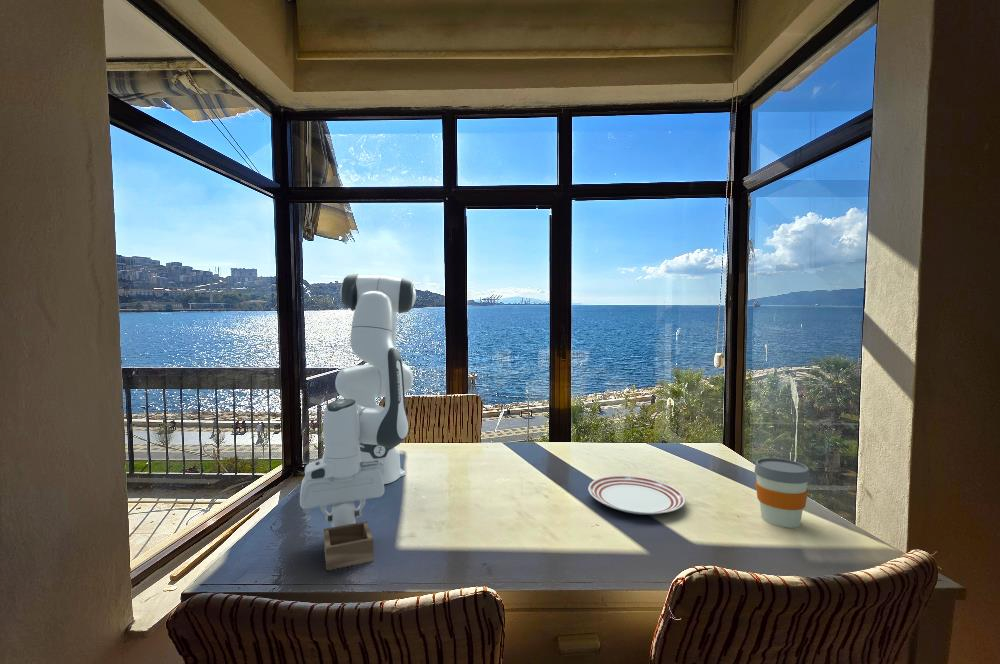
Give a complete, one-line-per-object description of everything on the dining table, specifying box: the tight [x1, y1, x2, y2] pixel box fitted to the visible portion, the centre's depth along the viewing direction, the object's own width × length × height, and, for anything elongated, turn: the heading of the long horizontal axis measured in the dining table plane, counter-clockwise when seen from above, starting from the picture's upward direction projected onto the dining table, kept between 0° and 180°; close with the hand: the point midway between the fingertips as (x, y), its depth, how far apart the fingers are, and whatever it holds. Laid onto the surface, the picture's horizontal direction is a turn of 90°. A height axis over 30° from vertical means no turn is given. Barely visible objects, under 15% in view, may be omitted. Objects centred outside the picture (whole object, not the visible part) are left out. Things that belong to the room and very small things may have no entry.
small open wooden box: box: [323, 520, 375, 571], centre depth 107 cm, size 10×10×5 cm
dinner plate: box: [587, 474, 686, 516], centre depth 137 cm, size 28×27×3 cm
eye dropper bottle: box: [331, 501, 357, 528], centre depth 117 cm, size 4×6×12 cm
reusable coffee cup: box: [754, 457, 810, 529], centre depth 124 cm, size 13×13×15 cm
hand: (343, 518), depth 117 cm, fingers closed on eye dropper bottle, 6 cm apart
